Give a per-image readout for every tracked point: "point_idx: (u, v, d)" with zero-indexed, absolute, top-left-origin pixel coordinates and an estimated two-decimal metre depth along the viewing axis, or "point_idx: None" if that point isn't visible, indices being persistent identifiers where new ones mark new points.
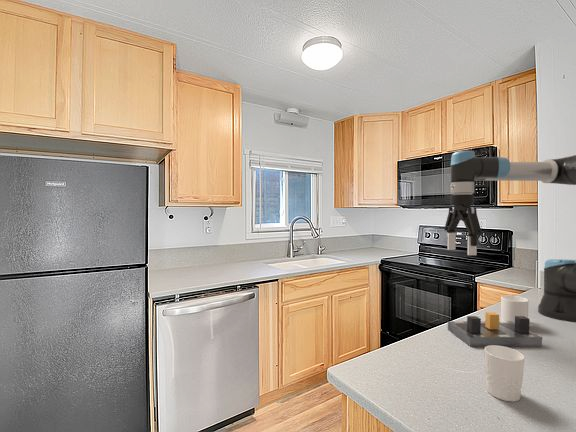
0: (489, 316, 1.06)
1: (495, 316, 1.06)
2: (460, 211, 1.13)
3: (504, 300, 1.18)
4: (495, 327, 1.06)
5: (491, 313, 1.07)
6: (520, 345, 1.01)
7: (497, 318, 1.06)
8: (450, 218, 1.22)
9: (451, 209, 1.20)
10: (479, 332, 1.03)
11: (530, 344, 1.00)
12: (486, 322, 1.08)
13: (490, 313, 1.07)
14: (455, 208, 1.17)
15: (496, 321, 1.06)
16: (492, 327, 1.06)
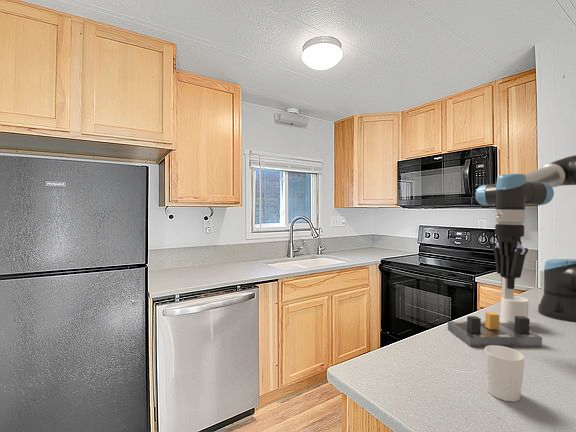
0: (489, 316, 1.06)
1: (495, 316, 1.06)
2: (508, 245, 0.97)
3: (504, 300, 1.18)
4: (495, 327, 1.06)
5: (491, 313, 1.07)
6: (520, 345, 1.01)
7: (497, 318, 1.06)
8: (498, 255, 1.03)
9: (495, 244, 1.04)
10: (479, 332, 1.03)
11: (530, 344, 1.00)
12: (486, 322, 1.08)
13: (490, 313, 1.07)
14: (499, 238, 1.02)
15: (496, 321, 1.06)
16: (492, 327, 1.06)
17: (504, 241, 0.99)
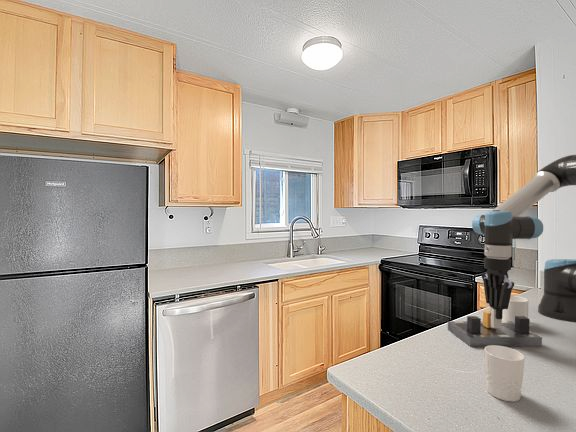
0: (487, 315, 1.08)
1: None
2: (496, 278, 1.03)
3: None
4: None
5: (488, 312, 1.09)
6: (520, 345, 1.01)
7: None
8: (487, 286, 1.09)
9: (484, 275, 1.10)
10: (479, 332, 1.03)
11: (530, 344, 1.00)
12: (484, 321, 1.09)
13: (488, 312, 1.09)
14: (488, 270, 1.08)
15: None
16: (490, 326, 1.07)
17: (492, 274, 1.05)
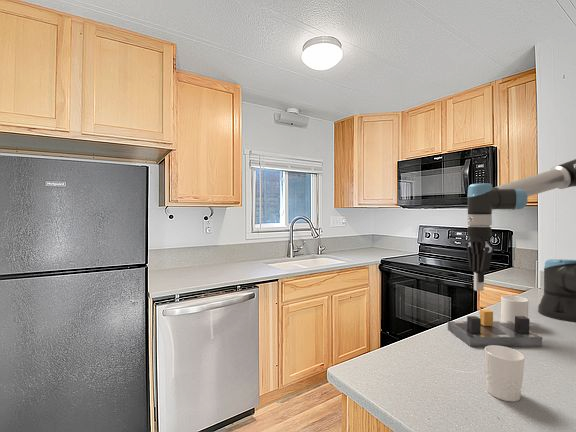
0: (483, 313, 1.09)
1: (490, 313, 1.09)
2: (478, 245, 1.13)
3: (504, 300, 1.18)
4: (489, 324, 1.09)
5: (485, 310, 1.10)
6: (520, 345, 1.01)
7: (491, 315, 1.09)
8: (471, 253, 1.19)
9: (468, 244, 1.20)
10: (479, 332, 1.03)
11: (530, 344, 1.00)
12: (481, 319, 1.11)
13: (484, 310, 1.10)
14: (471, 238, 1.18)
15: (491, 318, 1.09)
16: (486, 324, 1.09)
17: (475, 241, 1.15)
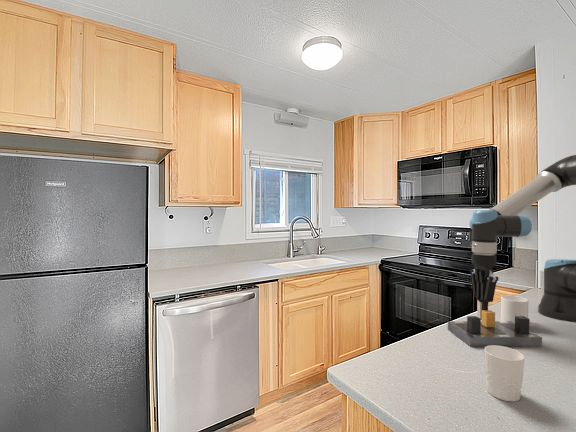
0: (485, 314, 1.08)
1: (492, 314, 1.08)
2: (482, 273, 1.10)
3: (504, 300, 1.18)
4: (491, 325, 1.08)
5: (487, 311, 1.09)
6: (520, 345, 1.01)
7: (493, 316, 1.08)
8: (475, 280, 1.16)
9: (472, 271, 1.17)
10: (479, 332, 1.03)
11: (530, 344, 1.00)
12: (482, 320, 1.10)
13: (486, 311, 1.09)
14: (475, 265, 1.15)
15: (493, 319, 1.08)
16: (488, 325, 1.08)
17: (479, 269, 1.12)
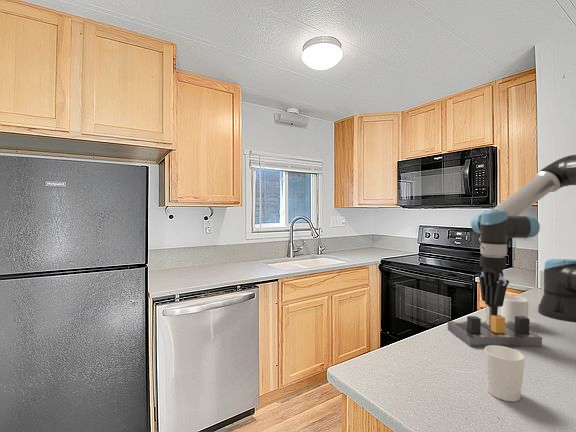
0: (495, 319, 1.03)
1: (502, 320, 1.03)
2: (491, 276, 1.05)
3: (504, 300, 1.18)
4: (501, 331, 1.03)
5: (497, 316, 1.04)
6: (520, 345, 1.01)
7: (503, 321, 1.03)
8: (483, 284, 1.11)
9: (480, 273, 1.12)
10: (479, 332, 1.03)
11: (530, 344, 1.00)
12: (492, 325, 1.05)
13: (496, 316, 1.04)
14: (484, 268, 1.10)
15: (502, 324, 1.03)
16: (498, 331, 1.03)
17: (488, 272, 1.07)
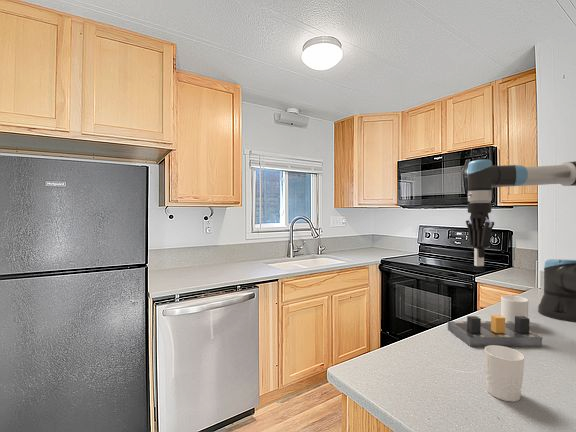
0: (495, 319, 1.03)
1: (502, 320, 1.03)
2: (478, 220, 1.15)
3: (504, 300, 1.18)
4: (501, 331, 1.03)
5: (497, 316, 1.04)
6: (520, 345, 1.01)
7: (503, 321, 1.03)
8: (471, 230, 1.20)
9: (468, 221, 1.22)
10: (479, 332, 1.03)
11: (530, 344, 1.00)
12: (492, 325, 1.05)
13: (496, 316, 1.04)
14: (471, 215, 1.19)
15: (503, 324, 1.03)
16: (498, 331, 1.03)
17: (475, 217, 1.17)
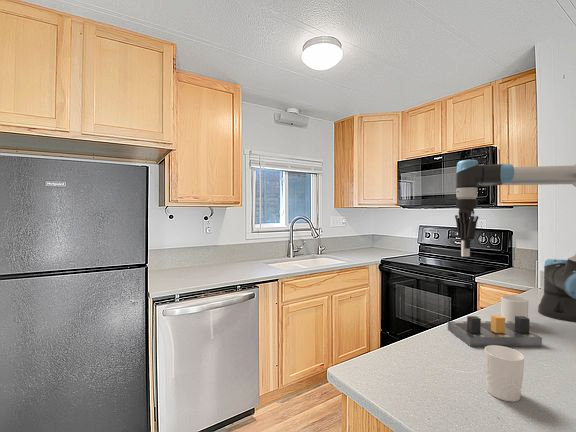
0: (495, 319, 1.03)
1: (502, 320, 1.03)
2: (464, 215, 1.26)
3: (504, 300, 1.18)
4: (501, 331, 1.03)
5: (497, 316, 1.04)
6: (520, 345, 1.01)
7: (503, 321, 1.03)
8: (459, 224, 1.32)
9: (457, 216, 1.33)
10: (479, 332, 1.03)
11: (530, 344, 1.00)
12: (492, 325, 1.05)
13: (496, 316, 1.04)
14: (459, 210, 1.31)
15: (503, 324, 1.03)
16: (498, 331, 1.03)
17: (462, 212, 1.29)
